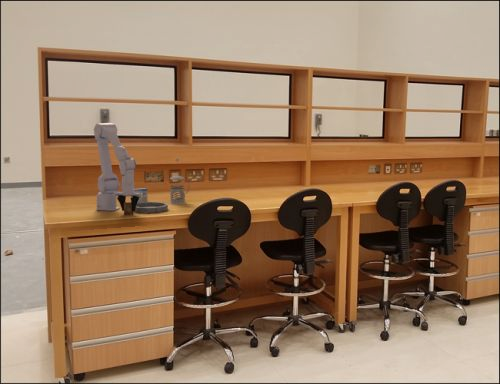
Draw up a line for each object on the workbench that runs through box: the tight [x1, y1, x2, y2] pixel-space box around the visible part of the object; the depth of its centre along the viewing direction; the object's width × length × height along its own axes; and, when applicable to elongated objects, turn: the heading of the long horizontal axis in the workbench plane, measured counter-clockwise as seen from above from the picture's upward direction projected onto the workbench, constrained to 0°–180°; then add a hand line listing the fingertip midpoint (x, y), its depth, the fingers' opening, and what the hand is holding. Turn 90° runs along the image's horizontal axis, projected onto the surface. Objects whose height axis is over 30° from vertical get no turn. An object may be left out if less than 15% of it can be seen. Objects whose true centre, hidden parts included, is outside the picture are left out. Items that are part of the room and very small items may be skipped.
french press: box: [168, 158, 190, 205], centre depth 275 cm, size 10×12×25 cm
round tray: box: [133, 201, 169, 214], centre depth 253 cm, size 18×18×3 cm
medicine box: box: [134, 187, 149, 203], centre depth 269 cm, size 8×4×9 cm, turn 126°
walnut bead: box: [123, 201, 134, 216], centre depth 241 cm, size 4×4×6 cm
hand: (128, 210), depth 241 cm, fingers open, 5 cm apart
